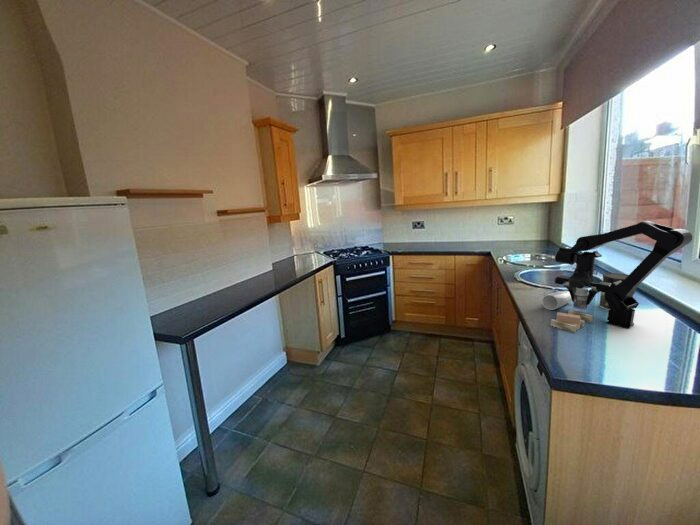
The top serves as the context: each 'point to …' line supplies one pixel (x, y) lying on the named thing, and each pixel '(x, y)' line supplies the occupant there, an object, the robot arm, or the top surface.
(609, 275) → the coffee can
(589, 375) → the top surface
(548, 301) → the drinking glass
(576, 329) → the lower offcut
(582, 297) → the pill bottle
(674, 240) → the robot arm
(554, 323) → the offcut rack
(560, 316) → the upper offcut
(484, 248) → the top surface
